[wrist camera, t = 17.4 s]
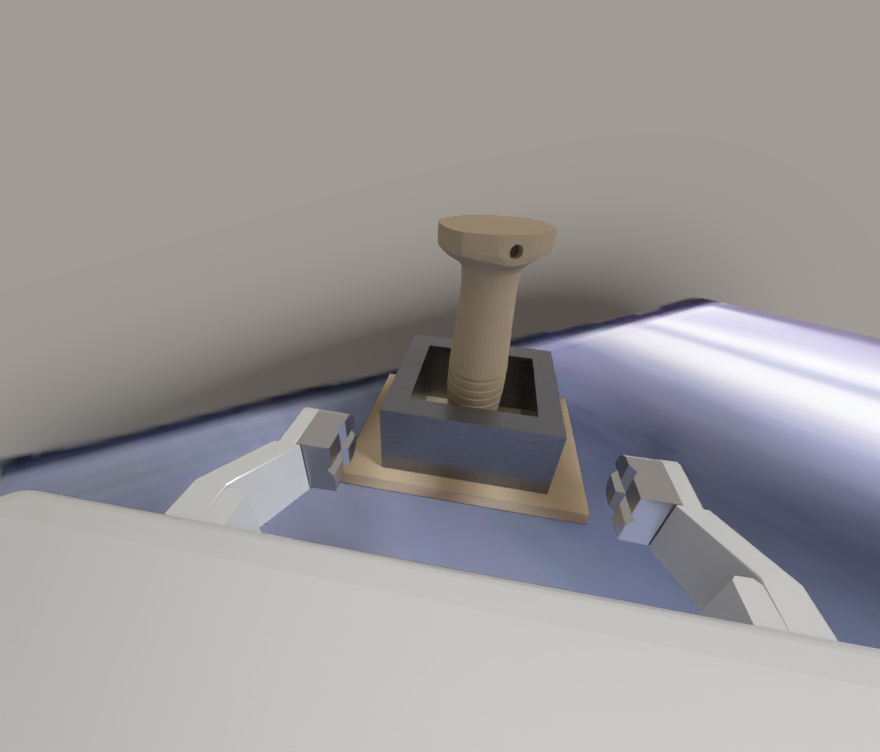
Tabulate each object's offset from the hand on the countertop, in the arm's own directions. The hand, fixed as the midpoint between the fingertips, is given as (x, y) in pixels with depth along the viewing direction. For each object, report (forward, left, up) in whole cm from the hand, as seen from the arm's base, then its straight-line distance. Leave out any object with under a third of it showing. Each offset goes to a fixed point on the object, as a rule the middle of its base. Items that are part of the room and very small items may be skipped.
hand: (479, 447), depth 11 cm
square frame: (0, -13, -11) cm, 17 cm away
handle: (0, -13, -11) cm, 17 cm away
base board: (0, -13, -12) cm, 18 cm away
